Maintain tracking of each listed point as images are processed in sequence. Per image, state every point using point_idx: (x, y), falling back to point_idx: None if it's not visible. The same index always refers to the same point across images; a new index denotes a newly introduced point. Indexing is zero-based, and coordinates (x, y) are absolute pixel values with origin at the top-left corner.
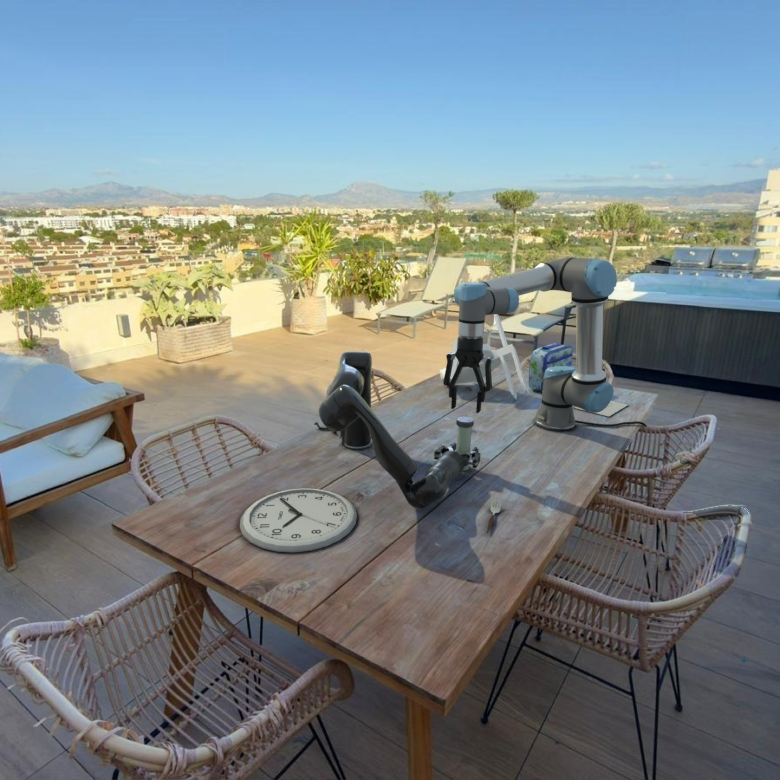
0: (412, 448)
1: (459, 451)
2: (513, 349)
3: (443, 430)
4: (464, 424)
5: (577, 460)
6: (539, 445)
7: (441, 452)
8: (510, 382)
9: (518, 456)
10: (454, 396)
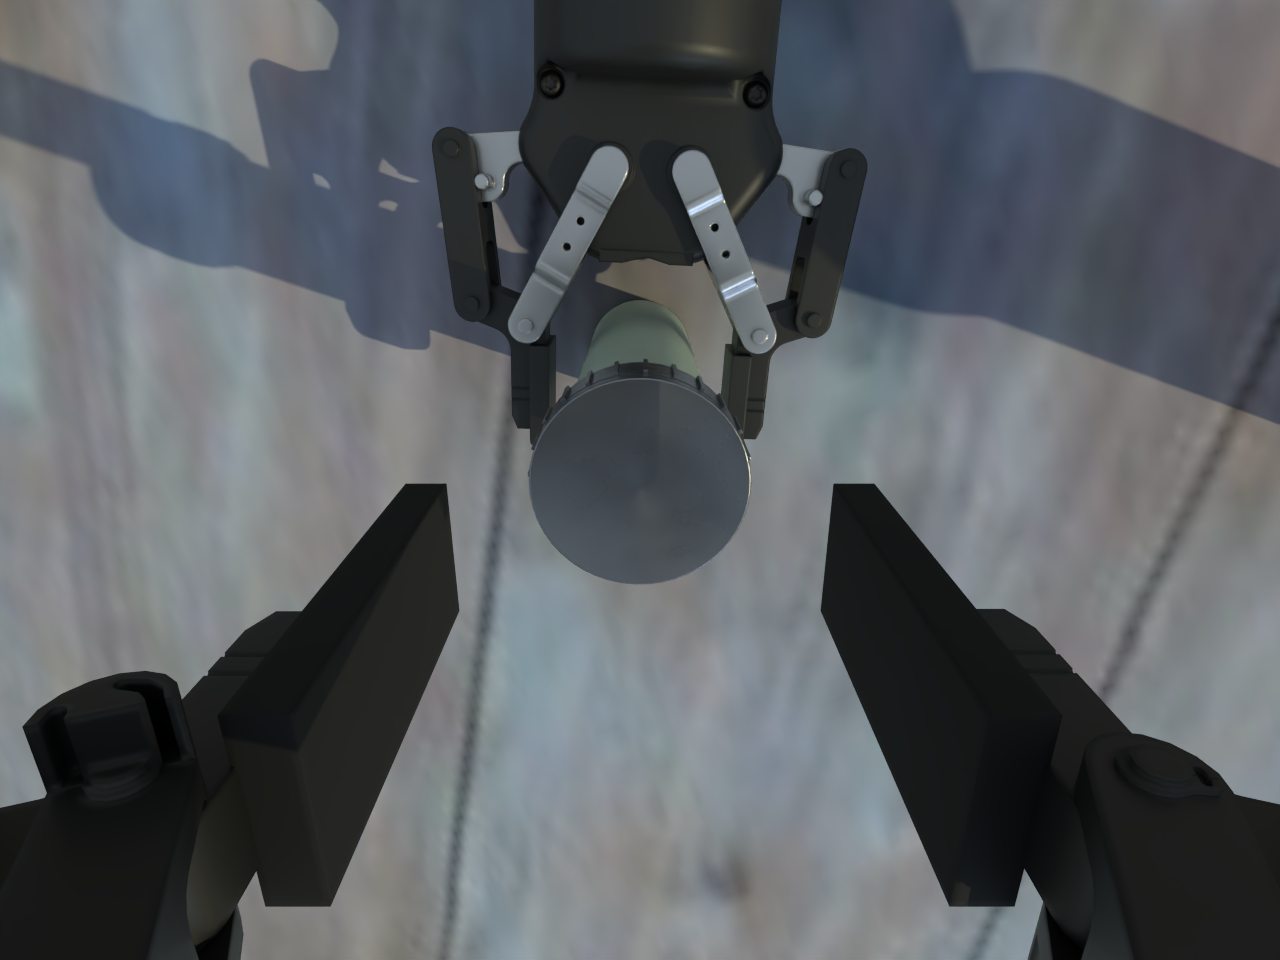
0: (1057, 499)
1: (658, 325)
2: None
3: (908, 831)
4: (616, 370)
5: None
6: None
7: (805, 243)
8: None
9: None
10: (902, 615)
